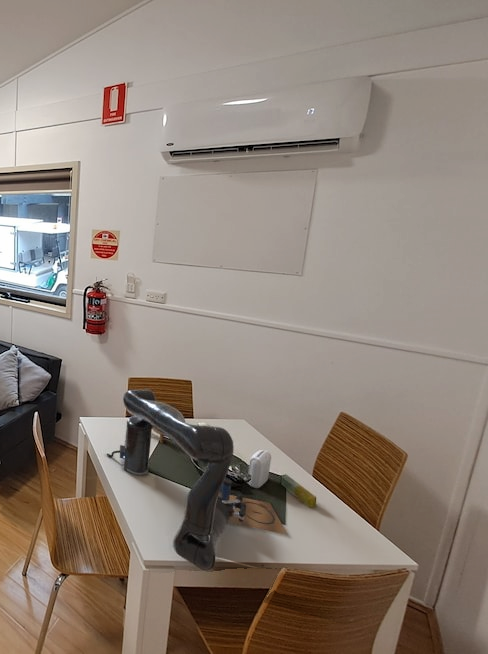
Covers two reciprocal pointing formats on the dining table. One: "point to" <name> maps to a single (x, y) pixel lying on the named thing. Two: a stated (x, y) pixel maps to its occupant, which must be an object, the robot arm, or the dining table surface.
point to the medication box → (298, 491)
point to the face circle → (263, 507)
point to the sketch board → (258, 516)
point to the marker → (226, 489)
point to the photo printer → (259, 468)
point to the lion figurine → (159, 434)
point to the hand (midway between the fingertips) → (227, 490)
